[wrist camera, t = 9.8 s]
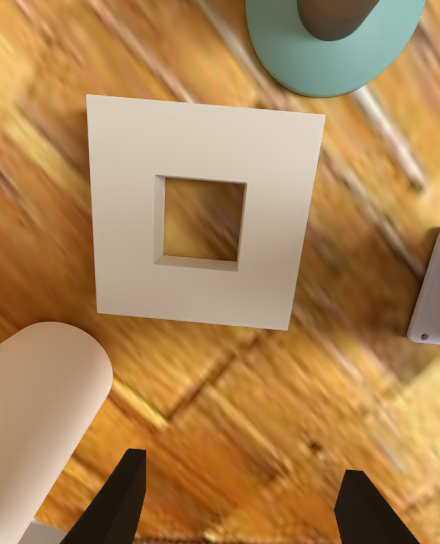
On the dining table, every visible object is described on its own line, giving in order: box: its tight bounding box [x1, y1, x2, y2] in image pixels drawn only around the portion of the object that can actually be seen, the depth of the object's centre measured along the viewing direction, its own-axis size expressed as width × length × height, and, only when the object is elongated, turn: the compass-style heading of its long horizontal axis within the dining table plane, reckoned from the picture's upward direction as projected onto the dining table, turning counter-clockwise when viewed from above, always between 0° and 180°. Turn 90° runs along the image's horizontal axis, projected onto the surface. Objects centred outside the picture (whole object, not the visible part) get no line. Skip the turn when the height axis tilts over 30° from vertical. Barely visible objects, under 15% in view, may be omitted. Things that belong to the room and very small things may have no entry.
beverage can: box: [0, 322, 113, 544], centre depth 15 cm, size 8×8×12 cm
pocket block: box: [86, 94, 326, 331], centre depth 16 cm, size 12×12×2 cm
